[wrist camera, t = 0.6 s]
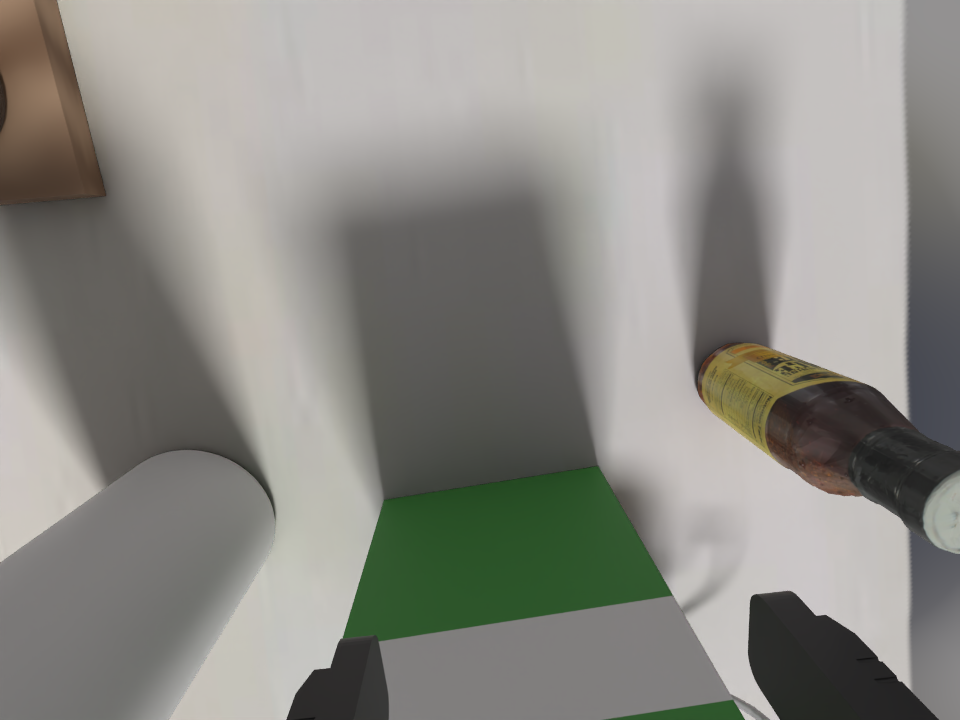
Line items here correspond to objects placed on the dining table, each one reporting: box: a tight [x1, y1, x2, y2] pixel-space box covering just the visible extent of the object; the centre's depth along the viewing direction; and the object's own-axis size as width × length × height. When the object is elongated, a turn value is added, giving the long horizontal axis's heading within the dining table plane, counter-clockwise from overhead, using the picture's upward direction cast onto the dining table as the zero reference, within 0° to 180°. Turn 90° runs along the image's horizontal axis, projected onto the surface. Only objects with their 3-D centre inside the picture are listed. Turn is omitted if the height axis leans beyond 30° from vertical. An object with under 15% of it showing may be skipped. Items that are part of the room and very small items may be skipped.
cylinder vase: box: [0, 450, 275, 720], centre depth 28 cm, size 12×12×25 cm
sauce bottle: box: [697, 343, 960, 554], centre depth 29 cm, size 7×6×20 cm
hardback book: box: [343, 466, 745, 720], centre depth 30 cm, size 18×7×24 cm, turn 99°
